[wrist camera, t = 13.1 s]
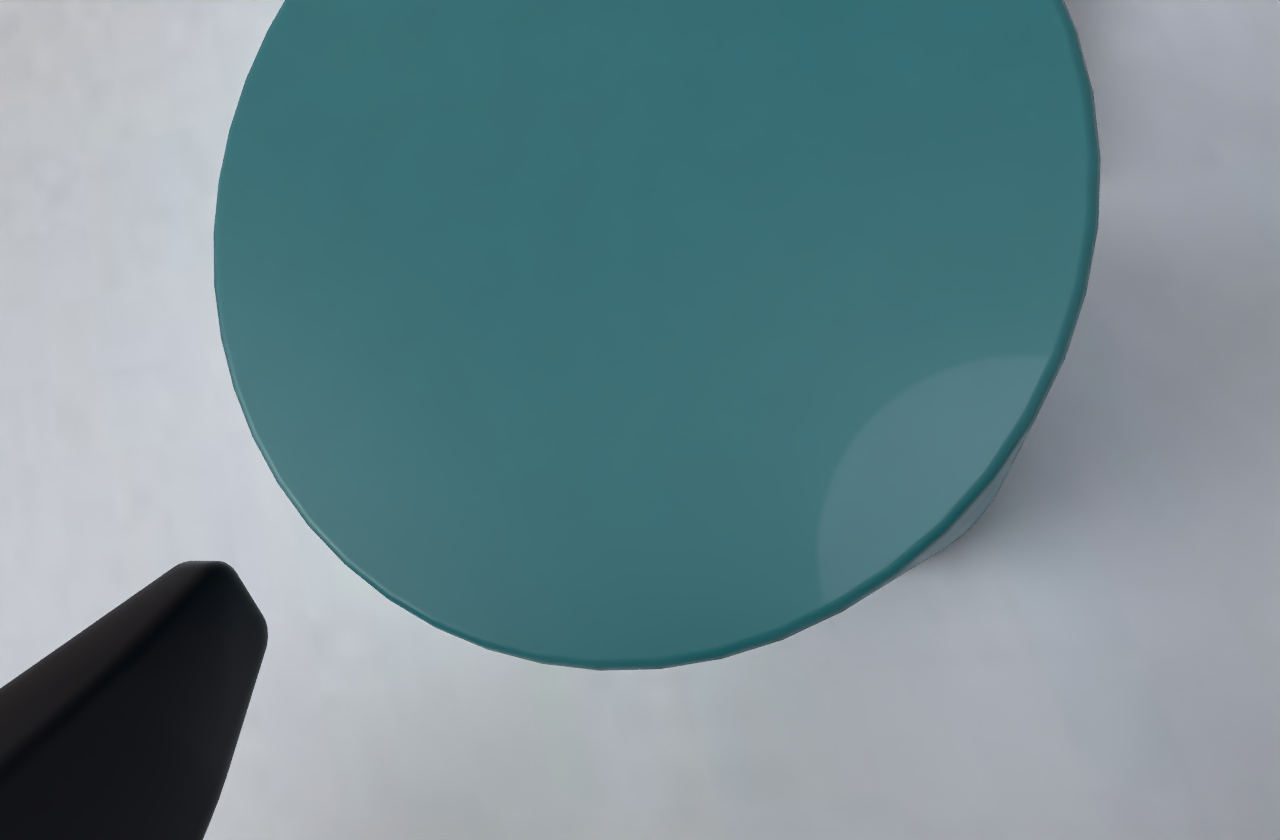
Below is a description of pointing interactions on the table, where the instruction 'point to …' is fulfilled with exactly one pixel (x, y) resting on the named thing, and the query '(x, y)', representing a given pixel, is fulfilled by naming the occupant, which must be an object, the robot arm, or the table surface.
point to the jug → (651, 299)
